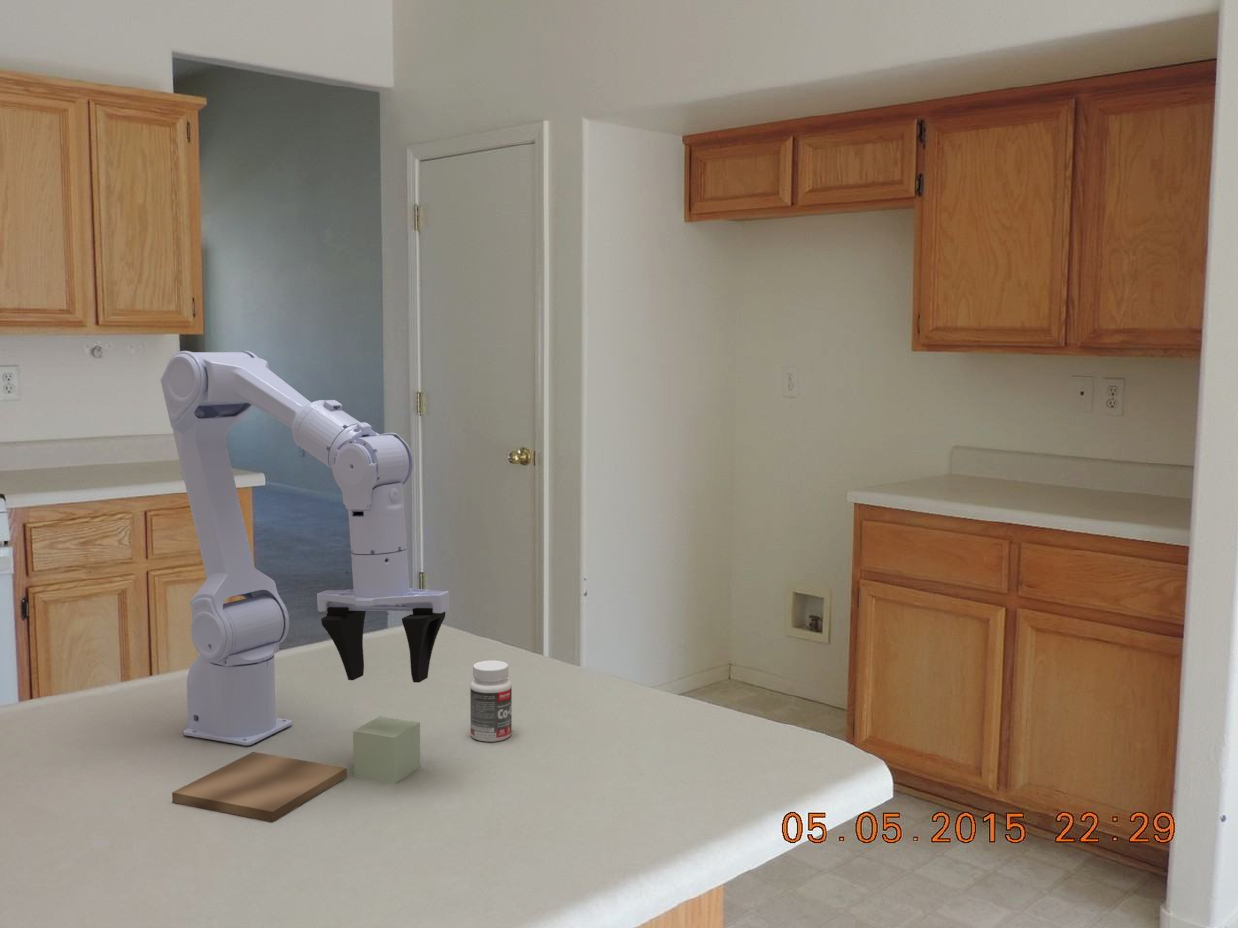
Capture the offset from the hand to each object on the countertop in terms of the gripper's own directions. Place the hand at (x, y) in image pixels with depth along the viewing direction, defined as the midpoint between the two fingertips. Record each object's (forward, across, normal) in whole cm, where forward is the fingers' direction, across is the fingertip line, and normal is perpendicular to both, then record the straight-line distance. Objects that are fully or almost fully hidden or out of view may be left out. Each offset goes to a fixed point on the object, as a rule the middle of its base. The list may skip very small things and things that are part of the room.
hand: (387, 678), depth 119 cm
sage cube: (+10, -1, 0) cm, 10 cm away
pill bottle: (+10, +5, +14) cm, 18 cm away
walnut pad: (+9, -10, -8) cm, 16 cm away
